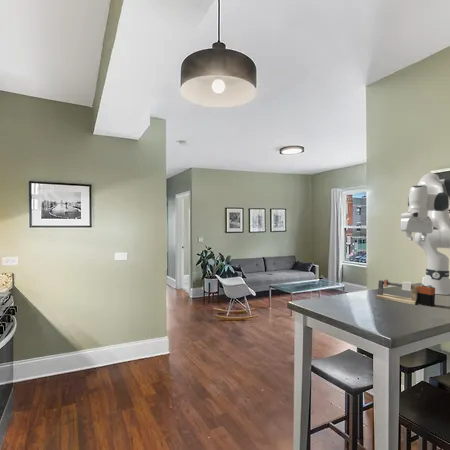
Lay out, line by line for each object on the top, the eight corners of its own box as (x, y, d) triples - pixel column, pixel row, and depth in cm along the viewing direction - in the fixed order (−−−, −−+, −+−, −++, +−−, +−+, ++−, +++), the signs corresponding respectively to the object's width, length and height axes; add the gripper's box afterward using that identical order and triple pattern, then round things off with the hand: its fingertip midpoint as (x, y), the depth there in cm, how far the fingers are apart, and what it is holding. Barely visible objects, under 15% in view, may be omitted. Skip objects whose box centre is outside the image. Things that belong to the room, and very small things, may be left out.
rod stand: (380, 295, 173) (381, 278, 173) (417, 301, 161) (418, 283, 162) (375, 297, 166) (376, 279, 166) (414, 304, 154) (415, 285, 154)
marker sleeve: (403, 288, 164) (403, 281, 164) (412, 290, 161) (412, 282, 161) (401, 289, 160) (402, 282, 160) (410, 291, 158) (410, 283, 158)
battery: (431, 306, 152) (432, 286, 152) (416, 303, 157) (417, 284, 157) (434, 305, 154) (435, 285, 154) (419, 302, 160) (420, 283, 160)
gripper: (425, 216, 170) (424, 241, 170) (398, 213, 163) (397, 239, 162) (436, 216, 164) (435, 242, 164) (409, 213, 157) (408, 240, 156)
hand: (416, 241), depth 163 cm, fingers open, 8 cm apart
